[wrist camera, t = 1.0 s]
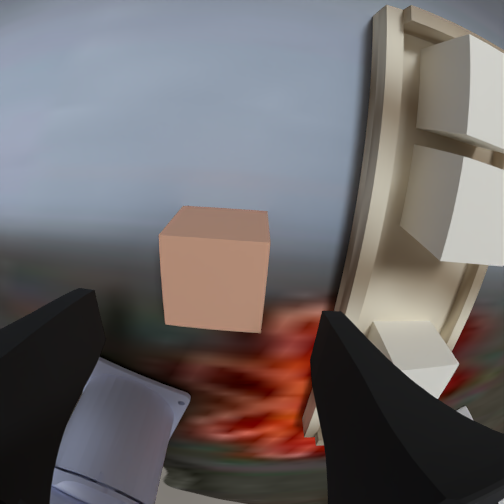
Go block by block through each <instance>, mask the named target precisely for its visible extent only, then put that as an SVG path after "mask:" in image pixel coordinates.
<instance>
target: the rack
mask: <svg viewBox="0 0 504 504" xmlns="http://www.w3.org/2000/svg"><path fill="white" fill-rule="evenodd" d="M468 34H470V35H472V36H474V37H476V38H478V39H480V40H481V41H483V42H485V43H487V44H489V45H490V46H492V47H494V48H495V49H497V50H499V51H500V52H502V53H504V50H502V49H501V48H499V47H498V46H496V45H494V44H492V43H491V42H489V41H487V40H486V39H484V38H482V37H480V36H478V35H477V34H475V33H473V32H471V31H469V30H467V29H465V28H463V27H461V26H459V25H457V24H455V23H453V22H451V21H448V20H446V19H444V18H442V17H440V16H437V15H435V14H433V13H430V12H428V11H425V10H423V9H420V8H418V7H415V6H412V5H410V6H409V7H407V8H406V9H404V10H401V9H398V8H395V7H392V6H389V5H386V6H384V7H383V8H382V9H381V10H379V11H378V12H377V13H376V14H375V15H373V38H372V65H371V82H370V96H369V107H368V118H367V128H366V137H365V146H364V154H363V161H362V169H361V176H360V182H359V189H358V195H357V202H356V208H355V213H354V219H353V225H352V230H351V235H350V241H349V246H348V251H347V256H346V260H345V265H344V270H343V274H342V279H341V283H340V288H339V292H338V296H337V300H336V304H335V309H334V311H342V312H343V313H344V314H345V315H346V316H347V317H348V318H349V319H350V320H351V321H352V322H353V324H354V325H355V326H356V327H357V328H358V329H359V330H360V331H361V332H362V333H363V334H364V335H365V336H366V337H367V338H368V335H369V332H370V329H371V326H372V323H373V321H431V323H432V324H433V326H434V327H435V329H436V330H437V331H438V333H439V334H440V336H441V337H442V339H443V340H444V342H445V343H446V345H447V346H448V348H449V349H450V351H451V352H452V350H453V348H454V346H455V344H456V342H457V340H458V338H459V336H460V334H461V331H462V329H463V327H464V325H465V323H466V321H467V318H468V316H469V314H470V312H471V309H472V307H473V305H474V302H475V300H476V297H477V295H478V292H479V290H480V287H481V284H482V282H483V279H484V276H485V273H486V271H487V268H488V265H481V264H470V263H457V262H445V261H440V260H438V259H437V258H436V257H435V256H434V255H433V254H432V253H431V252H430V251H428V250H427V249H426V248H425V247H424V246H423V245H422V244H421V243H419V242H418V241H417V240H416V239H415V238H414V237H413V236H411V235H410V234H409V233H408V232H407V231H405V230H404V229H403V228H402V227H401V226H400V222H401V217H402V213H403V208H404V203H405V198H406V192H407V187H408V181H409V175H410V169H411V162H412V155H413V148H414V144H415V145H419V146H424V147H428V148H433V149H437V150H441V151H445V152H449V153H453V154H457V155H461V156H464V157H467V158H471V159H474V160H477V161H480V162H483V163H486V164H488V165H491V166H494V167H497V168H500V169H502V170H504V153H500V152H496V151H492V150H488V149H484V148H480V147H476V146H473V145H470V144H467V143H465V142H462V141H459V140H455V139H452V138H449V137H446V136H443V135H439V134H436V133H433V132H429V131H426V130H422V129H418V128H416V123H417V112H418V100H419V85H420V56H421V49H424V48H426V47H429V46H432V45H435V44H438V43H441V42H445V41H448V40H451V39H454V38H457V37H461V36H464V35H468ZM302 421H303V430H304V437H315V441H316V446H317V445H324V442H323V437H322V432H321V427H320V422H319V417H318V413H317V408H316V403H315V398H314V393H313V388H312V391H311V394H310V397H309V400H308V403H307V406H306V409H305V412H304V415H303V418H302Z"/></svg>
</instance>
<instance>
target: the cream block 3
mask: <svg viewBox="0 0 504 504" xmlns="http://www.w3.org/2000/svg"><path fill="white" fill-rule="evenodd" d="M368 339H369V340H370V341H371V342H372V343H373V344H374V345H375V346H376V347H377V348H378V349H379V350H380V351H381V352H382V353H383V354H384V355H385V356H386V357H387V358H388V359H389V360H390V361H391V362H392V363H393V364H394V365H395V366H396V367H398V368H399V369H400V370H401V371H402V372H403V373H404V374H405V375H407V376H408V377H409V378H410V379H411V380H413V381H414V382H415V383H416V384H418V385H419V386H420V387H422V388H423V389H424V390H426V391H427V392H428V393H430V394H431V395H432V396H434V397H435V398H437V399H438V398H439V396H440V395H441V393H442V392H443V390H444V388H445V387H446V385H447V384H448V382H449V380H450V379H451V377H452V375H453V374H454V372H455V370H456V369H457V367H458V365H459V363H458V361H457V360H456V358H455V357H454V355H453V354H452V352H451V351H450V349H449V348H448V346H447V345H446V343H445V342H444V340H443V339H442V337H441V336H440V334H439V333H438V331H437V330H436V329H435V327H434V326H433V324H432V323H431V321H373V323H372V326H371V329H370V332H369V335H368Z"/></svg>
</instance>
